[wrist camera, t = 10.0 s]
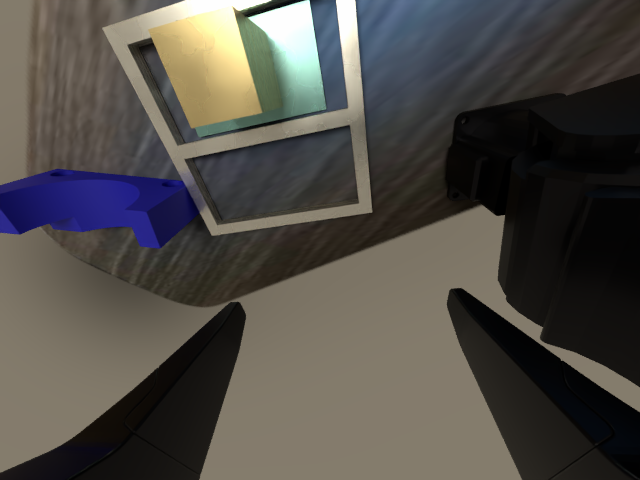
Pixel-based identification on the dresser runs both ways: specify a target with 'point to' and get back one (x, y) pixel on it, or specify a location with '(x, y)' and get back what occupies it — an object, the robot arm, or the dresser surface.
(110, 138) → the dresser surface
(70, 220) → the cable clip
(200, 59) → the yellow rectangular block
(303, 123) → the grey divided frame
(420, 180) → the dresser surface
